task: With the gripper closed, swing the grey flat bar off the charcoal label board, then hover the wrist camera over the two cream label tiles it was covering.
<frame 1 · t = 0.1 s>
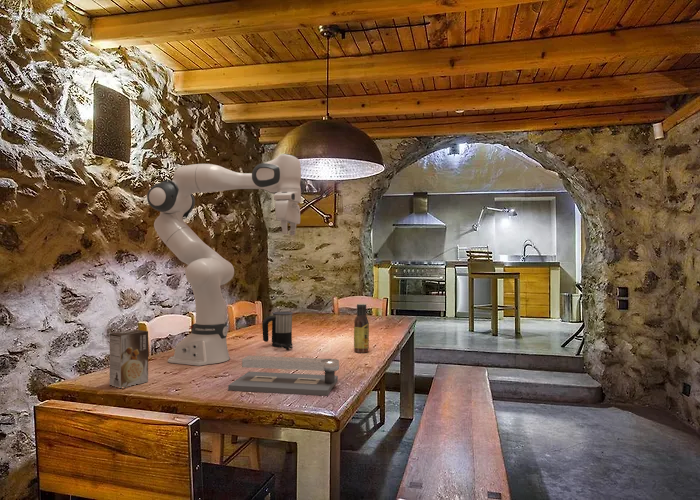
hand: (288, 234, 164), 48 cm above the table, fingers open, 8 cm apart
milk frother: (283, 347, 193), on the table
grey flat bar: (291, 363, 136), point 7 cm above the table, hinge at 0.0°
sauce bottle: (361, 352, 185), on the table
label board: (285, 385, 136), on the table
coffee box: (128, 384, 136), on the table
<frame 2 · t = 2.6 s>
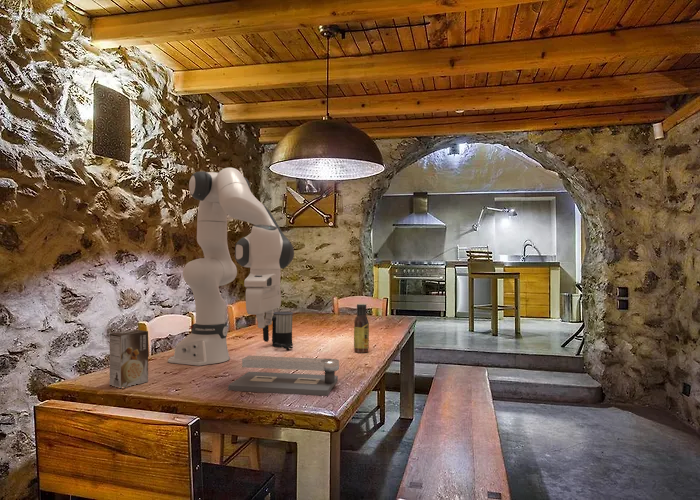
hand: (264, 326, 129), 19 cm above the table, fingers open, 4 cm apart
nothing on the table moved.
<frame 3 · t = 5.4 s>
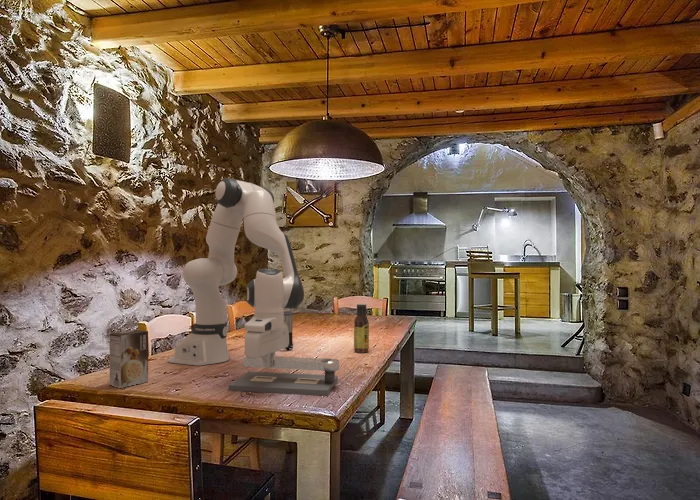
hand: (268, 367, 133), 6 cm above the table, fingers closed
grey flat bar: (291, 362, 136), point 7 cm above the table, hinge at 2.0°, touching gripper
everything else where it was.
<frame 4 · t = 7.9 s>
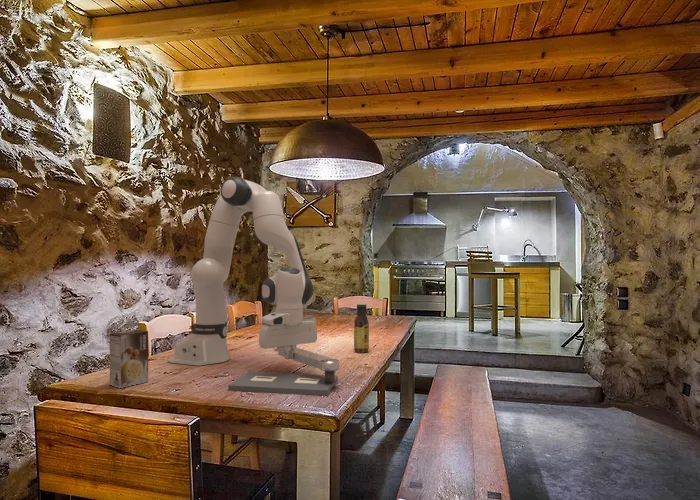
hand: (288, 358, 145), 6 cm above the table, fingers closed
grey flat bar: (307, 357, 143), point 7 cm above the table, hinge at 42.4°, touching gripper
everything else where it was.
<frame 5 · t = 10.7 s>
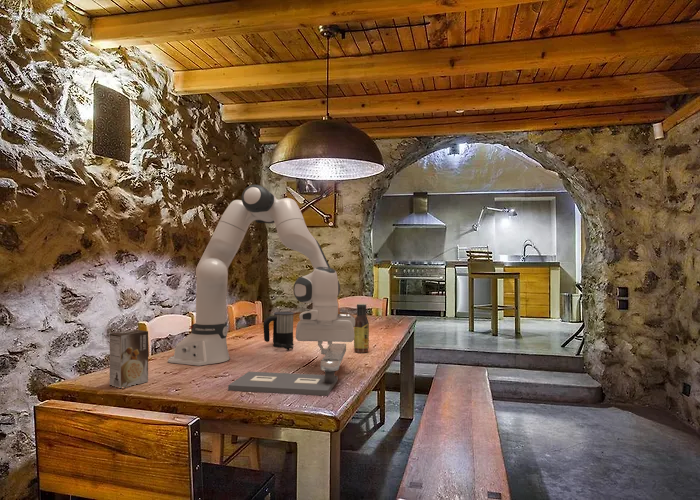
hand: (325, 354, 152), 6 cm above the table, fingers closed
grey flat bar: (334, 356, 146), point 7 cm above the table, hinge at 85.9°, touching gripper
everything else where it was.
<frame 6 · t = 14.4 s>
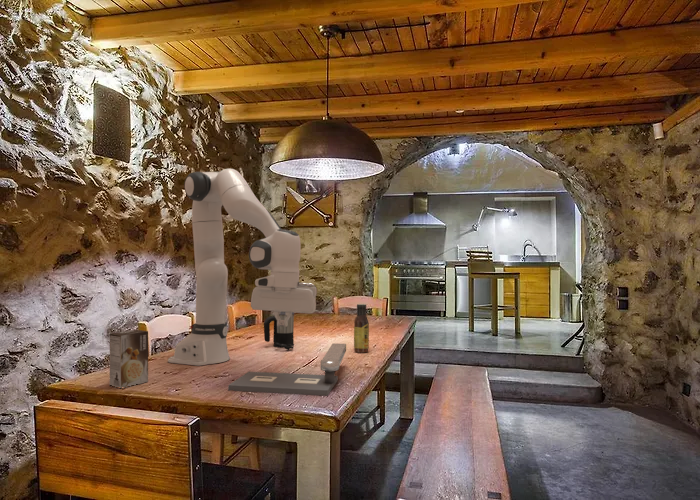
hand: (282, 326, 136), 18 cm above the table, fingers closed
grey flat bar: (334, 356, 146), point 7 cm above the table, hinge at 86.0°
everything else where it was.
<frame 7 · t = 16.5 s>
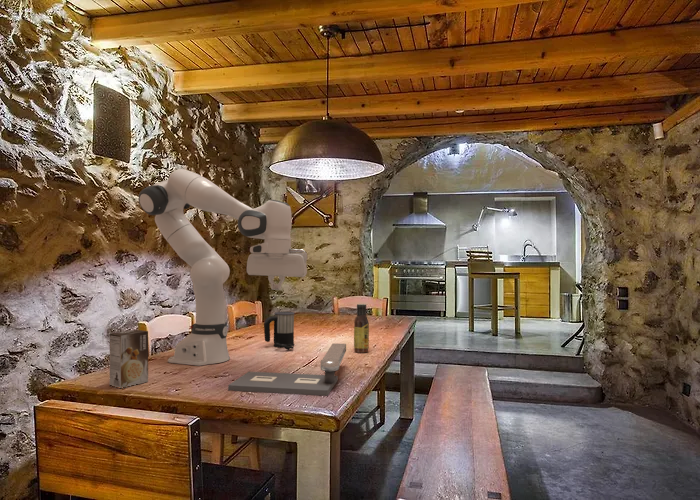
hand: (276, 289, 147), 29 cm above the table, fingers closed
nothing on the table moved.
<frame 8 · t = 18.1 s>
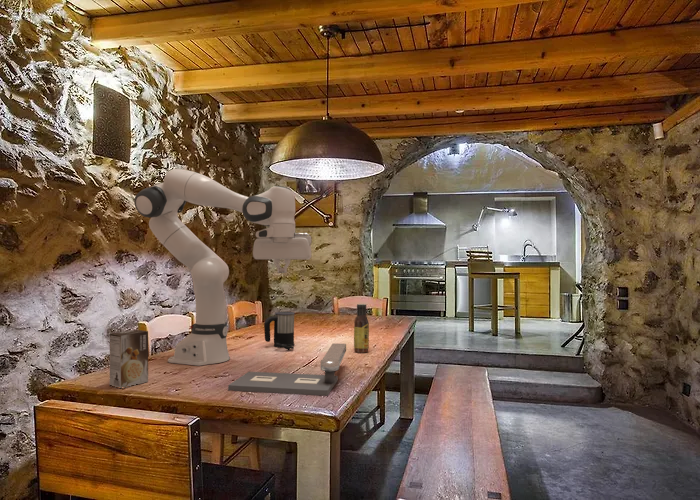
hand: (282, 272, 152), 34 cm above the table, fingers closed
at the end: grey flat bar at +86° (first picture: +0°); the gripper is holding nothing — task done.
